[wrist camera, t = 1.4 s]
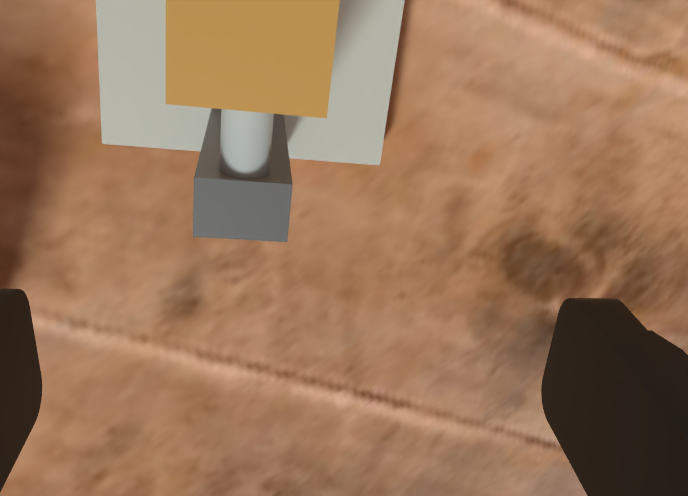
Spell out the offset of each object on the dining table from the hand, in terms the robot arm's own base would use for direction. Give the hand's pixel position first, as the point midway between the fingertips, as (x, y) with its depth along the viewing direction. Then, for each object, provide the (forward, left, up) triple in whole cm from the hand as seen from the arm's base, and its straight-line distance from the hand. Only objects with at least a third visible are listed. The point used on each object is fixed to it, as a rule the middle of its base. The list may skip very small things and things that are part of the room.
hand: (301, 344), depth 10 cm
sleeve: (-1, +3, -14) cm, 15 cm away
